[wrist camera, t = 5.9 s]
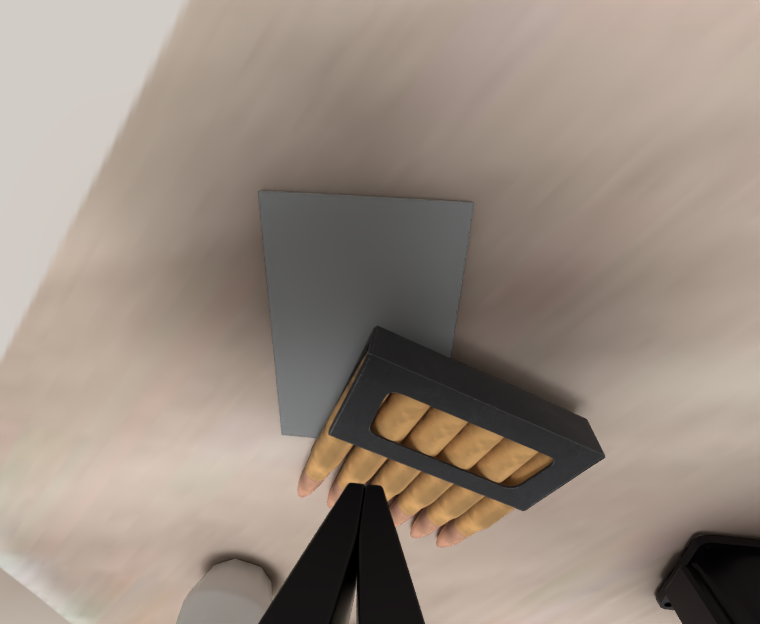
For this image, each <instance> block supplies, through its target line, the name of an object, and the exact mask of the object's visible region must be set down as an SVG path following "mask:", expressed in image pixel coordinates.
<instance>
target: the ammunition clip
mask: <svg viewBox="0 0 760 624" xmlns="http://www.w3.org/2000/svg"><path fill="white" fill-rule="evenodd" d="M353 445H354V446H353ZM352 446H353V448H352ZM351 448H352V449H351ZM350 449H351V451H350V452H349V450H350ZM348 452H349V454H348V455H347V453H348ZM346 455H347V457H346V460H345V462H344V465H343V468H342V469H341V471H340V473H339V475H338V477H337V478H336V480H335V481H334V483H333V485H332V487H331V489H330V492H329V495H328V501H327V504H328V507H329V508H332V507H333V506H334V504H335V503H336V501H337V499H338V498H339V496H340V495H341V493H342V492H343V490H344V489H345V487H346V486H347V484H348V483H362V484H364V483H365V482H367V481H368V480H369V479H370V478H371V477H372V476H373V475H374V474H375V473H376V472H377V473H376V475H375V478H374V479H373V481H372V482H371V483H370V484H372V485H381V486H382V487H383V489H384V492H385V495H386V499H387V502H388V501H389V500H390V499H391V498H392V497H393V496H395V495H397V494H399V493H400V492H401V493H400V494H399V496H398V497H397V498H396V499H395V501H394V502H393V503H392V505H391V506H390V512H391V515H392V518H393V521H394V524H395V527H396V526H398V525H400V524H402V523H403V522H405V521H407V520H408V519H409V518H410V517H411V516H413V515H414V514H416V513H417V512H418V511H419V510H421V509H422V508H424V507H425V508H424V509H423V510H422V511H421V513H420V514H419V515H418V517H417V518H416V520H415V521H414V523H413V525H412V528H411V532H410V535H411V537H413V538H419V537H423V536H426V535H428V534H430V533H432V532H433V531H435V530H436V529H438V528H439V527H440V526H442V525H444V524H445V523H446V525H445V526H444V527H443V529H442V530H441V532H440V534H439V536H438V538H437V542H436V545H437V546H438V547H449V546H452V545H455V544H457V543H459V542H461V541H462V540H464V539H465V538H467V537H468V536H471V535H472V534H474V533H475V532H477V531H479V530H483V529H486V528H488V527H490V526H491V525H492V524H494V523H495V522H496V521H498V520H499V519H501V518H502V517H503V516H505V515H506V514H508V513H509V512H510V511H512V510H513V509H514V508H516V509H519V510H521V511H525V510H527V509H528V508H530V507H531V506H533V505H534V504H536V503H537V502H539V501H540V500H542V499H543V498H545V497H546V496H548V495H549V494H551V493H552V492H554V491H555V490H557V489H558V488H560V487H561V486H563V485H564V484H566V483H567V482H569V481H570V480H572V479H573V478H575V477H576V476H578V475H579V474H581V473H582V472H584V471H585V470H587V469H588V468H590V467H591V466H593V465H594V464H596V463H598V462H599V461H601V460H602V459H604V458H605V454H604V452H603V450H602V448H601V446H600V444H599V442H598V440H597V438H596V436H595V434H594V432H593V430H592V428H591V426H590V424H589V422H588V420H587V419H585V418H583V417H581V416H579V415H576V414H574V413H572V412H570V411H567V410H565V409H563V408H561V407H558V406H556V405H554V404H552V403H550V402H547V401H545V400H543V399H541V398H538V397H536V396H534V395H532V394H530V393H527V392H525V391H523V390H521V389H518V388H516V387H514V386H512V385H509V384H507V383H505V382H503V381H501V380H498V379H496V378H494V377H492V376H489V375H487V374H485V373H483V372H480V371H478V370H476V369H474V368H472V367H469V366H467V365H465V364H463V363H460V362H458V361H456V360H454V359H451V358H449V357H447V356H445V355H443V354H440V353H438V352H436V351H434V350H431V349H429V348H427V347H425V346H422V345H420V344H418V343H416V342H414V341H411V340H409V339H407V338H405V337H402V336H400V335H398V334H396V333H394V332H391V331H389V330H387V329H385V328H382V327H380V326H378V325H377V326H376V327H374V328H373V330H372V332H371V334H370V336H369V338H368V340H367V343H366V345H365V347H364V349H363V351H362V353H361V355H360V357H359V359H358V361H357V363H356V365H355V367H354V369H353V371H352V373H351V375H350V377H349V379H348V381H347V383H346V385H345V387H344V389H343V391H342V393H341V395H340V397H339V399H338V401H337V403H336V407H335V408H334V410H333V412H332V414H331V415H330V417H329V419H328V421H327V422H326V424H325V426H324V427H323V429H322V431H321V433H320V434H319V436H318V438H317V440H316V441H315V443H314V445H313V447H312V450H311V454H310V458H309V460H308V462H307V464H306V467H305V468H304V470H303V472H302V474H301V477H300V479H299V484H298V495H299V497H305V496H307V495H309V494H311V493H312V492H313V491H314V490H315V489H316V488H317V487H318V486H319V485H320V484H321V483H322V482H323V480H324V479H325V478H326V477H327V476H328V474H329V473H330V472H331V471H332V470H333V469H335V468H336V467H337V466H338V465H339V464H340V463H341V462H342V460H343V459H344V457H345V456H346ZM377 470H378V471H377Z"/></svg>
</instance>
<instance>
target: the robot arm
mask: <svg viewBox="0 0 760 624" xmlns="http://www.w3.org/2000/svg"><path fill="white" fill-rule="evenodd" d="M356 584H357V599H356V624H425V622H424V618H423V615H422V612H421V609H420V605H419V602H418V599H417V596H416V592H415V589H414V586H413V583H412V579H411V576H410V573H409V570H408V567H407V563H406V560H405V557H404V554H403V550H402V547H401V544H400V541H399V537H398V534H397V531H396V528H395V524H394V521H393V518H392V515H391V512H390V508H389V505H388V502H387V499H386V495H385V492H384V489H383V487H382V486H381V485H372V484H368V485H366V486H365V485H364V484H362V483H348V484H347V486H346V487H345V489H344V490H343V492H342V493H341V495H340V496H339V498H338V499H337V501H336V503H335V504H334V506H333V507H332V509H331V510H330V512H329V513H328V515H327V517H326V518H325V520H324V521H323V523H322V524H321V526H320V527H319V529H318V531H317V532H316V534H315V535H314V537H313V538H312V540H311V541H310V543H309V545H308V546H307V548H306V549H305V551H304V552H303V554H302V555H301V557H300V559H299V560H298V562H297V563H296V565H295V566H294V568H293V570H292V571H291V573H290V574H289V576H288V577H287V579H286V580H285V582H284V584H283V585H282V587H281V588H280V590H279V591H278V593H277V594H276V596H275V598H274V599H273V601H272V602H271V604H270V605H269V607H268V608H267V610H266V612H265V613H264V615H263V616H262V618H261V619H260V621H259V622H258V624H349V620H350V615H351V611H352V606H353V601H354V596H355V590H356ZM656 600H657V602H658V604H659V605H660V607H661V608H663V609H669V610H675V612H676V614H677V615H678V617H679V619H680V620H681V622H682V624H760V540H751V539H741V538H730V537H720V536H710V535H702V536H698V537H696V538H695V539H694V540H693V541H692V543H691V544H690V546H689V547H688V549H687V550H686V552H685V553H684V555H683V556H682V558H681V559H680V561H679V562H678V564H677V565H676V567H675V568H674V570H673V571H672V573H671V574H670V576H669V577H668V579H667V580H666V582H665V583H664V585H663V586H662V588H661V589H660V591H659V592H658V594H657V595H656Z"/></svg>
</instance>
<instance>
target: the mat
mask: <svg viewBox="0 0 760 624" xmlns="http://www.w3.org/2000/svg"><path fill="white" fill-rule="evenodd" d="M258 196H259V206H260V216H261V227H262V237H263V247H264V258H265V268H266V278H267V289H268V299H269V309H270V319H271V330H272V340H273V350H274V361H275V371H276V381H277V392H278V402H279V412H280V423H281V433H282V435H289V436H300V437H311V438H318V436H319V434H320V433H321V431H322V429H323V427H324V426H325V424H326V422H327V421H328V419H329V417H330V415H331V414H332V412H333V410H334V408H335V407H336V403H337V401H338V399H339V397H340V395H341V393H342V391H343V389H344V387H345V385H346V383H347V381H348V379H349V377H350V375H351V373H352V371H353V369H354V367H355V365H356V363H357V361H358V359H359V357H360V355H361V353H362V351H363V349H364V347H365V345H366V343H367V340H368V338H369V336H370V334H371V332H372V330H373V328H374V327H376V326H377V325H378V326H380V327H382V328H385V329H387V330H389V331H391V332H394V333H396V334H398V335H400V336H402V337H405V338H407V339H409V340H411V341H414V342H416V343H418V344H420V345H422V346H425V347H427V348H429V349H431V350H434V351H436V352H438V353H440V354H443V355H445V356H447V357H449V358H451V352H452V346H453V339H454V333H455V326H456V319H457V313H458V306H459V299H460V293H461V286H462V280H463V273H464V266H465V260H466V253H467V247H468V240H469V233H470V227H471V220H472V213H473V207H474V203H473V202H468V201H450V200H432V199H413V198H395V197H377V196H359V195H341V194H323V193H305V192H287V191H269V190H261V191H258Z"/></svg>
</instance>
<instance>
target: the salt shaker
mask: <svg viewBox="0 0 760 624" xmlns="http://www.w3.org/2000/svg"><path fill="white" fill-rule="evenodd" d="M271 602H272V588H271V581H270V580H269V578H268V577H267V575H266V574H265V572H264V571H263V569H262V568H261V567H260V566H257V565H254V564H251V563H248V562H244V561H241V560H238V559H232V560H229V561H225V562H222V563H219V564H215V565H214V566H213V567H212V568H211V569H210V571H209V572H208V573H207V574H206V575H205V576H204V577H203V578H202V579H201V580H200V581H199V582H198V583H197V585H196V586H195V587H194V588H193V589H192V590H191V591H190V592H189V594H188V595H187V597H186V598H185V600H184V602H183V605H182V608H181V610H180V613H179V616H178V619H177V622H176V624H258V622H259V621H260V619H261V618H262V616H263V615H264V613H265V612H266V610H267V608H268V607H269V605H270V604H271Z"/></svg>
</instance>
